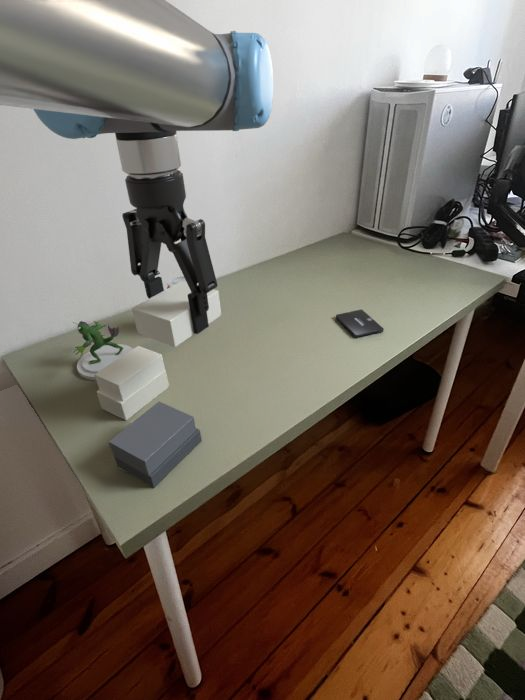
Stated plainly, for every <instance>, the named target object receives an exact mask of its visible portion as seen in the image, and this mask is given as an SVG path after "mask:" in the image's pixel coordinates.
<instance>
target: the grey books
mask: <svg viewBox="0 0 525 700" xmlns="http://www.w3.org/2000/svg"><path fill="white" fill-rule="evenodd" d="M202 441H203V440H202V435H201V430H200V429H199V428H197V427H196V422H195V417H194V416H193V415H191V414H189V413H186V412H184V411H182V410H179V409H177V408H175V407H173V406H170V405H168V404H166V403H164V402H162V401H157V402H155V404H154V405H152V406H151V407H149V409H148V410H146V411H145V412H144V413H142V414H141V415H140V416H139V417H137V418H136V419H135V420H133V422H131V423H130V424H129V425H128V426H126V427H125V428H123V430H122V431H119V432H118V434H116V435H115V436H114V437H113V438H112V439H110V440H109V441H108V445H109V447H110V449H111V452H112V455H113V458H114V461H115V464H116V467H117V468H119V469H120V470H122V471H123V472H125V473H127V474H129V475H131V476H132V477H134V478H136V479H137V480H139V481H141V482H143V483H144V484H146V485H147V486H149V487H151V488H153V489H155V488H156V487H157V486H158V485H159V484H160V483H161V482H162V481H163V480H164V479H165V478H166V477H167V476H168V475H169V474H170V473H171V472H172V471H173V470H174V469H175V468H176V467H177V466H178V465H179V464H180V463H181V462H182V461H183V460H184V459H186V457H188V455H189V454H190V453H192V451H193V450H194V449H195V448H196V447H197V446H198V445H199V444H200V443H202Z"/></svg>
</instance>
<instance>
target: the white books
mask: <svg viewBox="0 0 525 700" xmlns="http://www.w3.org/2000/svg"><path fill="white" fill-rule="evenodd" d="M94 375H95V378H96V380H95V381H96V384H97V387H98V390H97V391H96V395H97V398H98V401H99V404H100V407H101V409H102V410H104V411H106V412H108V413H110V414H112V415H114V416H116V417H118V418H120V419H122V420H124V421H128V420H129V419H131V417H133V416H134V415H135V414H137V413H138V412H139V411H141V410H142V409H143V408H144V407H146V406H147V405H148V404H149V403H151V402H152V401H153V400H154V399H156V398H157V397H158V396H160V395H161V394H162V393H163V392H165V391H166V390H168V388H170V383H169V379H168V378H169V377H168V374H167V370H166V367H165V362H164V358H163V354H161V353H159V352H156V351H154V350H151V349H148V348H146V347H142V346H140V345H137V346H136V347H134V348H133V350H131V351H130V352H128V353H126V354H125V355H123V356H122V357H120V358H119V359H117V360H116V361H114V362H113V363H111V364H110V365H108V366H106V367H105V368H103V369H102V370H100V371H99V372H97V373H96V374H94Z"/></svg>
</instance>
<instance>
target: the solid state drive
mask: <svg viewBox="0 0 525 700" xmlns="http://www.w3.org/2000/svg"><path fill="white" fill-rule="evenodd" d="M335 319H336V320H337V321H338V322H339V323H340V324H341V325H342V326H343V327H344V328H345V329H346V330H347V331H348V332H349V333H350V334H351V335H352V336H353V337H354V338H356V339H359V338H360V337H365V336H367V335H372V334H379V333H384V331H385V328H384V327H383V326H382V325H380V324H379V323H378V322H377V321H376V320H374V319H373V318H372V316H370V315H369V314H368V313H367V312H366V311H364V310H363V309H356V310H352V311H348V312H341V313H338V314H336V315H335Z"/></svg>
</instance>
